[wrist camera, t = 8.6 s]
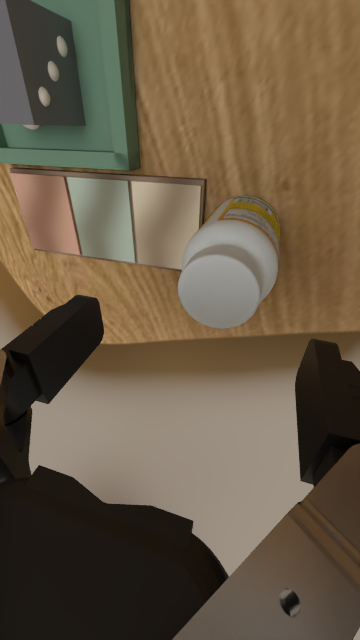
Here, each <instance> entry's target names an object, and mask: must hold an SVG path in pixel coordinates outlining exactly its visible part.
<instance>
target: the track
mask: <svg viewBox="0 0 360 640" xmlns="http://www.w3.org/2000/svg"><path fill="white" fill-rule="evenodd" d="M10 171H11V173H10V176H11V179H12V182H13V186H14V189H15V192H16V195H17V198H18V202H19V205H20V208H21V211H22V214H23V217H24V221H25V224H26V227H27V230H28V233H29V236H30V240H31V243H32V246H33V248H35V250H39V251H46V252H53V253H59V254H66V255H73V256H80V257H87V258H94V259H101V260H107V261H114V262H121V263H128V264H135V265H142V266H149V267H155V268H162V269H169V270H176V271H182V257H183V253H184V250H185V248H186V246H187V244H188V242H189V241H190V239H191V238H192V236H193V235H194V234H195V233H196V232H197V231H198V230H199V228H200V227H201V226H202V225H203V223H204V206H205V189H206V179H197V178H180V177H164V176H147V175H130V174H114V173H97V172H80V171H64V170H47V169H30V168H10Z"/></svg>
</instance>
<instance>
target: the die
mask: <svg viewBox="0 0 360 640" xmlns="http://www.w3.org/2000/svg"><path fill="white" fill-rule="evenodd" d="M0 124H20V125H23V126H24V127H26V128H29V129H32V130H35V129H37V128H38V127H39V125H67V126H86V123H85V116H84V109H83V102H82V95H81V88H80V81H79V74H78V67H77V60H76V53H75V45H74V38H73V31H72V24H71V21H70V20H68V19H66V18H64V17H62V16H60V15H58V14H56V13H54V12H52V11H50V10H48V9H46V8H44V7H42V6H40V5H38V4H37V3H35V2H33V1H31V0H0Z"/></svg>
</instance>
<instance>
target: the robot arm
mask: <svg viewBox="0 0 360 640" xmlns="http://www.w3.org/2000/svg"><path fill="white" fill-rule="evenodd" d="M103 334H104V327H103V322H102V316H101V310H100V305H99V301H98V299H97V298H94V297H88V296H83V295H76V296H74V297H73V298H72V299H71V300H69V301H68V302H67V303H66V304H64V305H62V306H59V307H57V308H55V309H53V310H51V311H49V312H48V313H47V314H46V315H44V316H43V317H42V319H41V320H40V319H39V320H38V321H37V322H35V323H34V325H33V326H30V327H29V328H28V329H26V330H25V331H24V332H23V333H22V334H20V335H19V336H18V337H16V338H15V339H14V340H12V341H11V342H10V343H9V344H7V345H6V346H5V347H3V348H2V349H1V350H0V640H353V638H354V636H355V635H356V633H357V631H358V629H359V627H360V371H359V370H358V369H357V367H356V366H355V365H354V364H353V363H352V362H350V361H345V360H342V359H341V356H340V352H339V348H338V345H337V344H336V343H333V342H327V341H322V340H317V339H311V340H310V341H309V343H308V346H307V348H306V351H305V354H304V356H303V359H302V361H301V364H300V367H299V369H298V372H297V376H296V382H295V394H296V411H297V428H298V445H299V461H300V478H301V481H303V482H306V483H309V484H313V485H314V488H313V489H312V490H311V492H310V493H309V494H308V495H307V496H306V497H305V498H304V499H303V500H302V501H301V502H298V503H297V504H296V505H295V506H294V507H293V508H292V509H291V510H290V511H289V512H288V513H287V514H286V515H285V516H284V517H283V519H282V520H281V521H280V522H279V523H278V524H277V525H276V526H275V527H274V528H273V530H272V531H271V532H270V533H269V534H268V535H267V536H266V537H265V538H264V539H263V540H262V542H261V543H260V544H259V545H258V546H257V547H256V548H255V549H254V550H253V551H252V553H251V554H250V555H249V556H248V557H247V558H246V559H245V560H244V562H242V564H241V565H240V566H239V567H238V568H237V569H236V570H235V571H234V572H233V573H232V575H231V576H230V577H229V576H228V574H227V573H226V571H225V569H224V568H223V566H222V565H221V563H220V561H219V560H218V559H217V557H216V556H215V555H214V553H213V552H212V551H211V550H210V549H209V548H208V547H207V546H206V545H205V544H204V543H203V542H202V541H201V540H200V539H199V538H198V537H196V536H195V535H194V534H192V528H193V521H192V520H189V519H186V518H184V517H181V516H178V515H176V514H173V513H170V512H167V511H164V510H162V509H159V508H156V507H153V506H147V505H125V504H107V503H104V502H102V501H101V500H100V499H99V498H97V497H96V496H95V495H94V494H93V493H91V492H90V491H89V490H88V489H86V488H85V487H84V486H83V485H82V484H80V483H79V482H78V481H77V480H75V479H74V478H73V477H71V476H68V475H65V474H62V473H59V472H56V471H54V470H51V469H48V468H46V467H43V466H40V465H39V466H38V467H37V469H36V470H35V471H34V473H33V474H32V475H31V471H30V466H29V446H30V434H31V422H32V408H31V405H32V404H33V403H34V401H35V400H36V401H39V402H43V403H46V404H49V403H50V402H51V400H52V399H53V398H54V397H55V396H56V395H57V393H58V392H59V391H60V390H61V389H62V388H63V386H64V385H65V384H66V383H67V382H68V380H69V379H70V378H71V377H72V376H73V375H74V373H75V372H76V371H77V370H78V369H79V368H80V366H81V365H82V364H83V363H84V362H85V360H86V359H87V358H88V357H89V356H90V355H91V353H92V352H93V351H94V350H95V349H96V347H97V346H98V345H99V344H100V342H101V341H102V338H103Z"/></svg>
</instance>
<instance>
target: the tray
mask: <svg viewBox="0 0 360 640" xmlns="http://www.w3.org/2000/svg"><path fill="white" fill-rule="evenodd" d="M31 1H33V2H35V3H37V4H38V5H40V6H42V7H44V8H46V9H48V10H50V11H52V12H54V13H56V14H58V15H60V16H62V17H64V18H66V19H68V20H70V21H71V24H72V31H73V38H74V45H75V53H76V60H77V67H78V74H79V81H80V88H81V95H82V102H83V109H84V116H85V123H86V126H67V125H39V127H38V128H37V129H35V130H32V129H29V128H26V127H24V126H23V125H20V124H0V163H6V164H24V165H41V166H59V167H77V168H95V169H113V170H132V169H136V168H140V160H139V145H138V130H137V115H136V100H135V85H134V69H133V54H132V39H131V24H130V9H129V0H31Z"/></svg>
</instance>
